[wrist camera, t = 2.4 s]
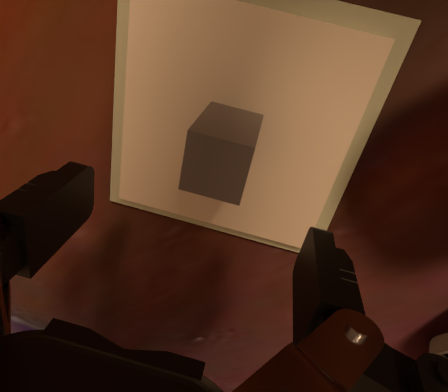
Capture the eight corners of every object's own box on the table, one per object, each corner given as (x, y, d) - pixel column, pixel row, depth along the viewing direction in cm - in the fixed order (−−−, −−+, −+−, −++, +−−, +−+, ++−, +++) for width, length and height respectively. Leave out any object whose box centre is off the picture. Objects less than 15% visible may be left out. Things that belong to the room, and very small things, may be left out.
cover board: (137, -24, 17) (75, -35, 12) (391, 38, 17) (432, 52, 12) (123, 192, 24) (79, 241, 19) (305, 242, 23) (308, 306, 18)
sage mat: (125, -51, 17) (119, -53, 17) (417, 19, 17) (421, 20, 16) (113, 196, 25) (109, 200, 25) (314, 251, 24) (314, 257, 24)
